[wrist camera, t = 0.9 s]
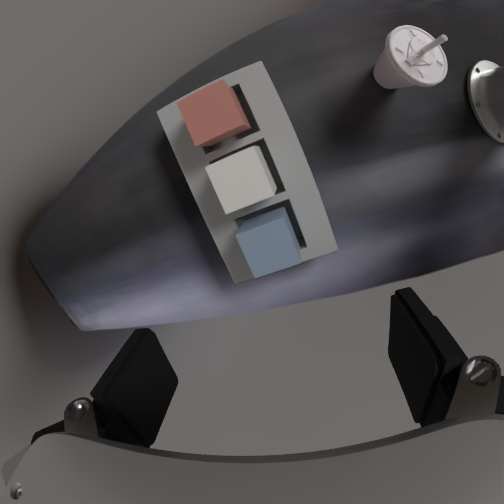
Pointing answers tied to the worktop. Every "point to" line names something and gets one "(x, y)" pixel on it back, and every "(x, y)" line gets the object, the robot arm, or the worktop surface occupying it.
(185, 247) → the worktop surface
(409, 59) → the smoothie
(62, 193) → the worktop surface
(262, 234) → the blue key
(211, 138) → the red key
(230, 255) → the keypad housing
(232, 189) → the white key
